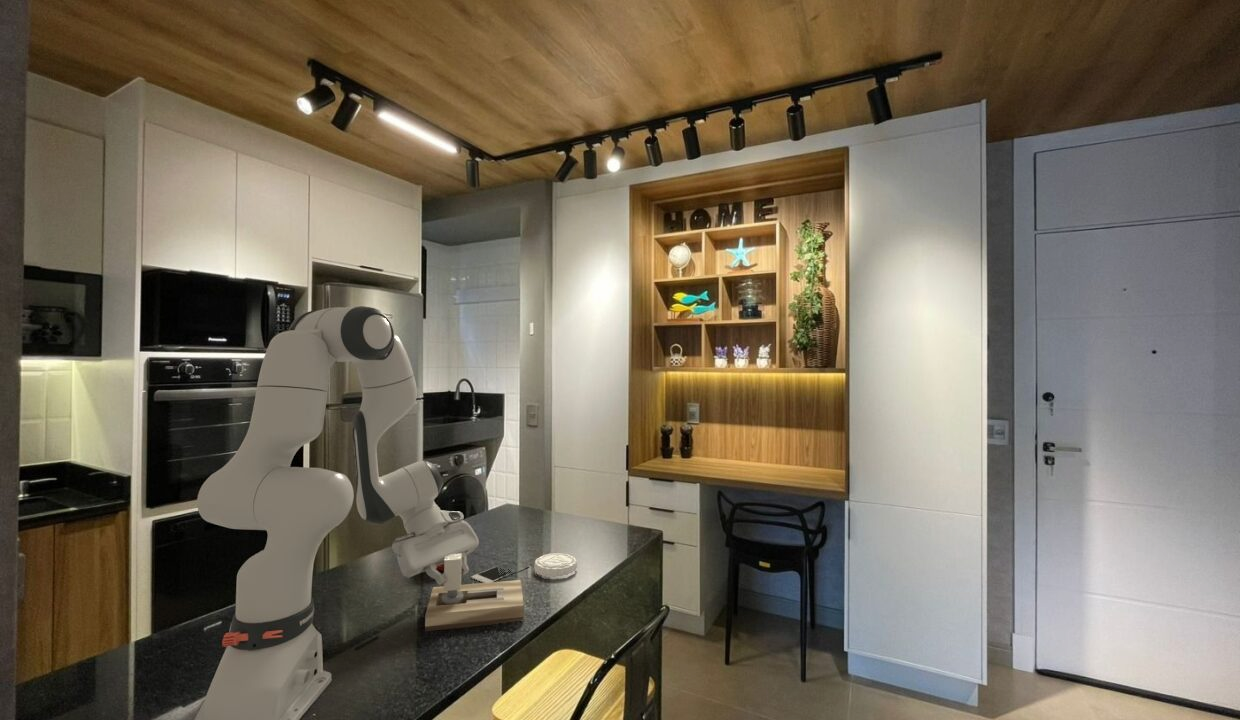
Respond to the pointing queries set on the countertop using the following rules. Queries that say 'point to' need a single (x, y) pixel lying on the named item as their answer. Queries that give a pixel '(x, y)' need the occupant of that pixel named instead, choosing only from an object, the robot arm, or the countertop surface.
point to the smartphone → (489, 575)
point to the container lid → (555, 564)
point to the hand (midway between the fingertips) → (454, 577)
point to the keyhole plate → (476, 606)
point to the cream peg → (452, 580)
